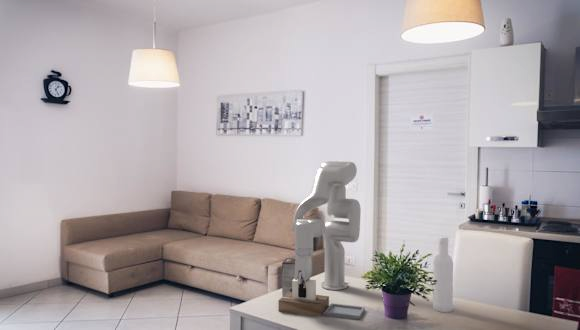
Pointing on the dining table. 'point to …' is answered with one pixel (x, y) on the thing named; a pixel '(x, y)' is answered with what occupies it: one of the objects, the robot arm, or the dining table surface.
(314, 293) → the white block
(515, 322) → the dining table surface
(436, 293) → the bottle
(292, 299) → the brown wooden flat box
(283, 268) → the tall grey box
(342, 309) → the grey tray
